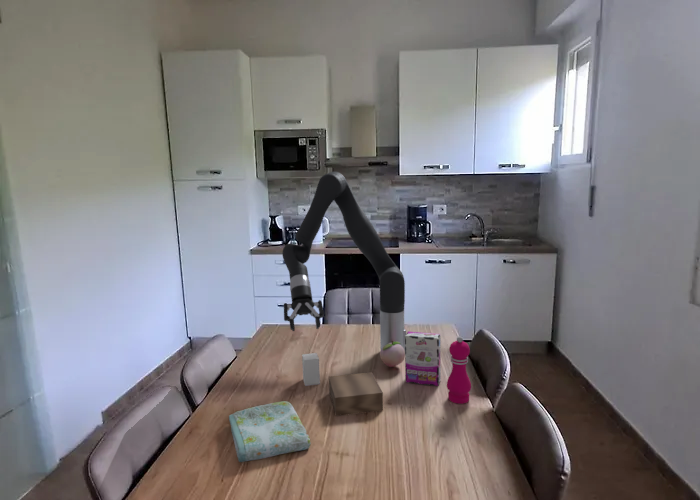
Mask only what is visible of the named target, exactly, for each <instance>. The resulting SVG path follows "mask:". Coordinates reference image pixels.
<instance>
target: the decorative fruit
mask: <svg viewBox="0 0 700 500" xmlns="http://www.w3.org/2000/svg"><path fill="white" fill-rule="evenodd" d="M399 344H401V343H400V342H396V341H395V342H393V341H392V343H389V344H387V345H385V346H384V347H383V348H382V349H381V348H380V351H379V357H380V360H381V362H383V364H385V366H387V367H390V368H394V367H396V366H398V365H400V364H402V363H403V362H404V360H405V350H404V348H403V347H402V346H401V345H399Z"/></svg>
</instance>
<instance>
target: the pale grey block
mask: <svg viewBox="0 0 700 500" xmlns="http://www.w3.org/2000/svg"><path fill="white" fill-rule="evenodd" d="M301 357H302V359H301V361H302V362H301V363H302V364H301V365H302V381H303V384H304V386H305V387H308V386H316V385H320V384H321V377H320V375H321V374H320V372H321V371H320V358H319V355H318V352H313V353H312V352H311V353H304V354H301Z"/></svg>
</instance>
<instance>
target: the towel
mask: <svg viewBox="0 0 700 500" xmlns="http://www.w3.org/2000/svg"><path fill="white" fill-rule="evenodd" d="M228 420H229V424H230V427H231V428H230V430H231V435H232V438H233V442H234V447H235V448H234V449H235V453H236V456H237V460H238V462H239V463H244V462H250V461H256V460H261V459H267V458H271V457H275V456H279V455H283V454H290V453H293V452H299V451H305V450H308V449H309V448H311V444H312V443H311V439H310V436H309V434H307V429H306V427H305V426H304V425H303V423H302V421H301V419H300V417H299V415H298V414H297V410H296V409H295V408H294V406H293V404H291V403H290V402H289V401H284V400H283V401H277V402H271V403H266V404H262V405H256V406H252V407H248V408H245V409H242V410H237V411H235V412H233V413H232V414H229V415H228Z"/></svg>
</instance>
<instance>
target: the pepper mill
mask: <svg viewBox="0 0 700 500" xmlns="http://www.w3.org/2000/svg"><path fill="white" fill-rule="evenodd" d="M448 350H449V353H450V355H451V356H450V362H451V363H452V368H451V372H450V373H449V375H448V378H447V381H446V387H447V390H448V393H447V395H448V396H447V397H448V400H449V401H450V402H452V403H453V404H459V405H461V404H463V405H464V404H467V403H468V402H469V401H470V391H471V390H472V382H471V380H470V377H469V374H468V373H467V364H468V363H469V357H468V356H469V355H470V353H471V349H470V345H469V344H468V343H467V342H465V341H464V339H463V337H462V336H458V337H456V340H455V341H452V342H451V343H450V345H449V349H448Z"/></svg>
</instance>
